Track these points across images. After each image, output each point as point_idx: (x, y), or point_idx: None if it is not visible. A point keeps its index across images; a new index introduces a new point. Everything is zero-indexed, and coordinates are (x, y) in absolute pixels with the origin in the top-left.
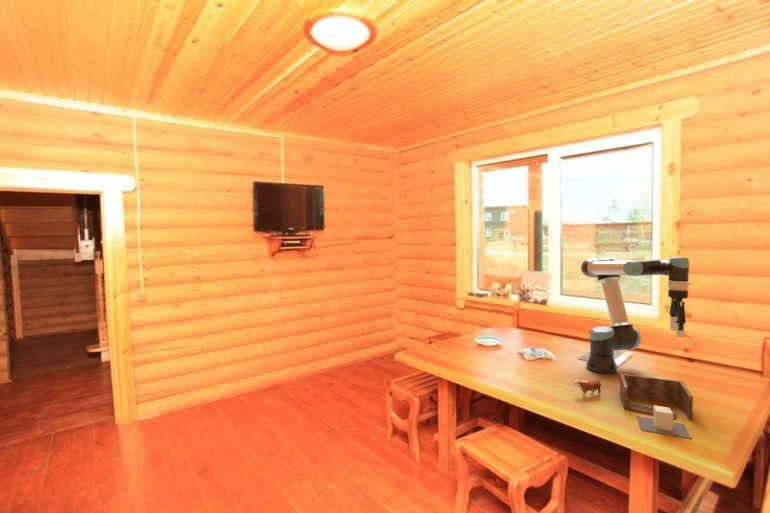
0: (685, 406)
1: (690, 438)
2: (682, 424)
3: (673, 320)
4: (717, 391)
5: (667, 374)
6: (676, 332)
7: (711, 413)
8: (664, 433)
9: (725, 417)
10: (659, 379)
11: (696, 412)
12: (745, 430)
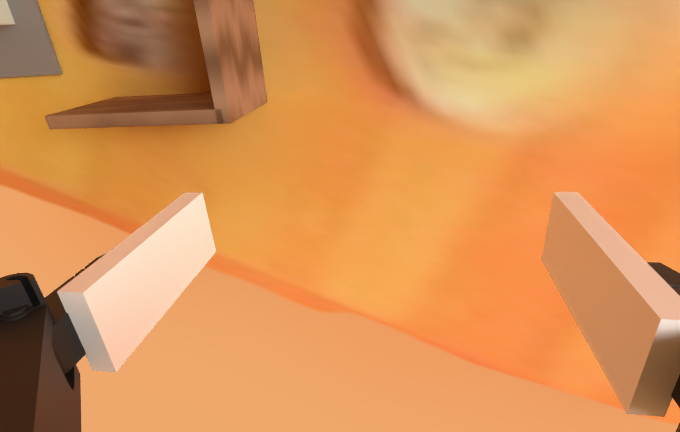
0: (139, 100)
1: None
2: (50, 69)
3: (610, 310)
4: (465, 253)
5: (665, 102)
6: (173, 212)
7: (221, 180)
8: None
9: (212, 211)
10: (195, 10)
11: (200, 136)
12: None
